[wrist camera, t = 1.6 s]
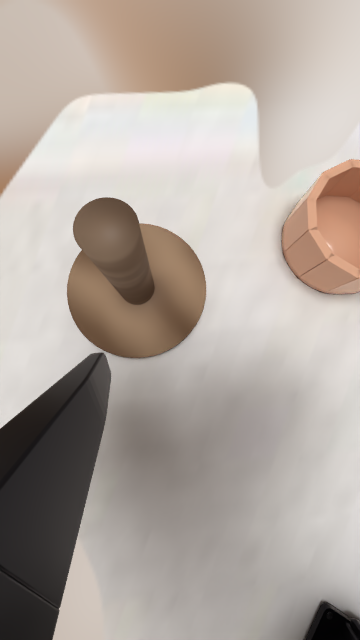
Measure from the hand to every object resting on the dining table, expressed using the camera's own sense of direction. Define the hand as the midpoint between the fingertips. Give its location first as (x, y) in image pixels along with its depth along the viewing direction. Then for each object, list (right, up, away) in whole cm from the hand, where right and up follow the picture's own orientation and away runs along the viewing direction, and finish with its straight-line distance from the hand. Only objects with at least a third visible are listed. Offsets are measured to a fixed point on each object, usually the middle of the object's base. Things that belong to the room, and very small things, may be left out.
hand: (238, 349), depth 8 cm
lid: (-6, +4, +14) cm, 16 cm away
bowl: (+13, +8, +15) cm, 22 cm away
